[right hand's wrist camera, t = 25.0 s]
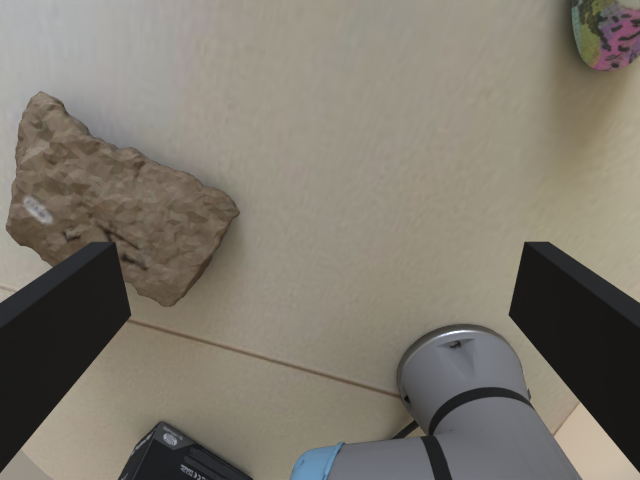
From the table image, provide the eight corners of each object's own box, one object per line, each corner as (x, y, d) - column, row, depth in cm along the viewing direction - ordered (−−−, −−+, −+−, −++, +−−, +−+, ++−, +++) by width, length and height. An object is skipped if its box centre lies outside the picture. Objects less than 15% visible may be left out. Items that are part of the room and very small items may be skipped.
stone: (-17, 223, 38) (-57, 239, 32) (46, 90, 36) (16, 82, 31) (183, 303, 45) (179, 327, 40) (243, 195, 44) (247, 204, 38)
